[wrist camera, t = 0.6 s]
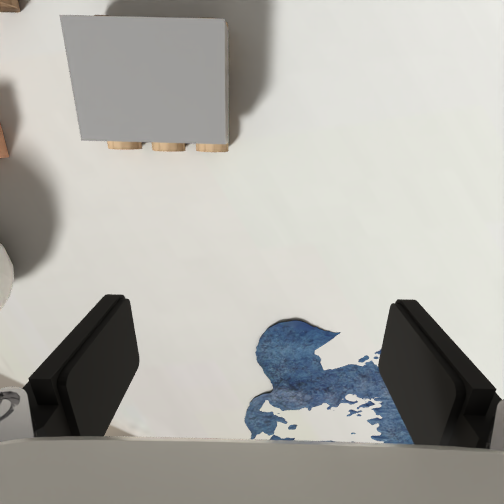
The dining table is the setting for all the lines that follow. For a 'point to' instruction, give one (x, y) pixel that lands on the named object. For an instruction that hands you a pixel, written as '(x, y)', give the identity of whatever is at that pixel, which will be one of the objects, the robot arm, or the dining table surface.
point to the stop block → (3, 145)
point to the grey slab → (149, 78)
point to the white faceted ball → (5, 276)
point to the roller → (9, 6)
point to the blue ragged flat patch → (317, 382)
